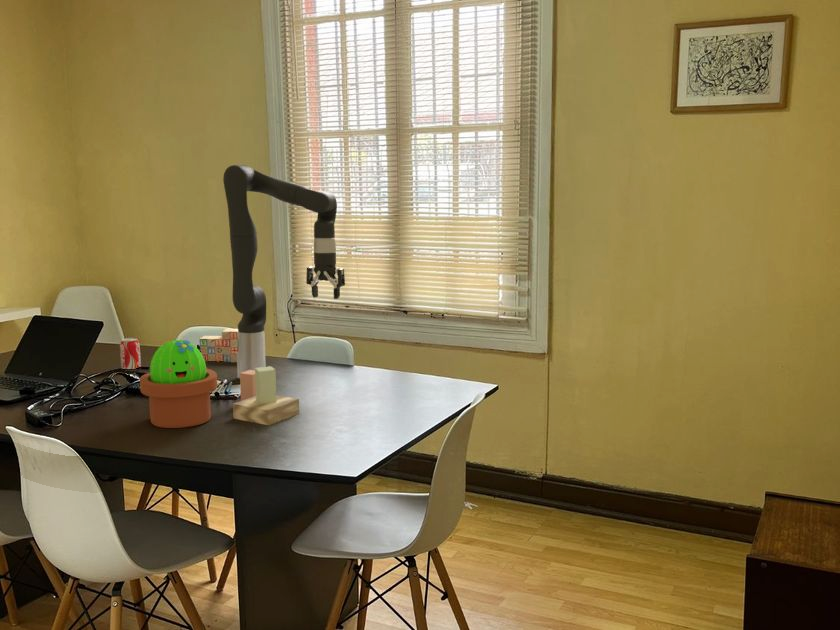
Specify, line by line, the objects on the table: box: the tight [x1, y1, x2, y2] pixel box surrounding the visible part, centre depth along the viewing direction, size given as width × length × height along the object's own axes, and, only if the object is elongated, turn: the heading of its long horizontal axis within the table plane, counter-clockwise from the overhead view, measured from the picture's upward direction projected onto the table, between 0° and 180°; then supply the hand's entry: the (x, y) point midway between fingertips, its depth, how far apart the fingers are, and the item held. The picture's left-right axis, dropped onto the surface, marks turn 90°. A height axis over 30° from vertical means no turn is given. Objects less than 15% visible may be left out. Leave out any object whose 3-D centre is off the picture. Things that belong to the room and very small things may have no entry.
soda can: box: [119, 337, 142, 370], centre depth 313 cm, size 7×7×12 cm
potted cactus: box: [139, 338, 218, 429], centre depth 249 cm, size 22×22×25 cm
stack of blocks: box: [199, 328, 239, 363], centre depth 330 cm, size 21×6×12 cm, turn 85°
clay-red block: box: [239, 370, 256, 401], centre depth 270 cm, size 5×5×10 cm
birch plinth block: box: [232, 394, 300, 426], centre depth 255 cm, size 14×14×5 cm
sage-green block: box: [255, 365, 277, 404], centre depth 254 cm, size 5×5×10 cm
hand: (325, 297), depth 290 cm, fingers open, 8 cm apart
